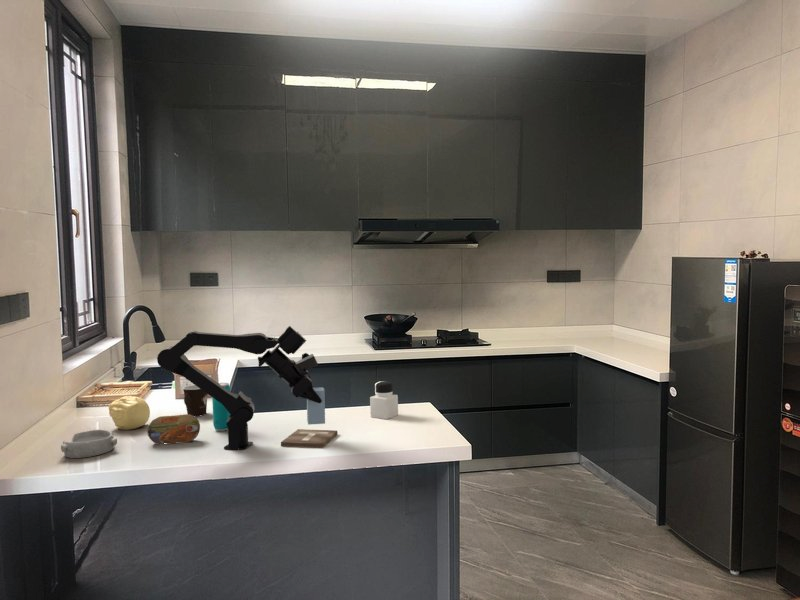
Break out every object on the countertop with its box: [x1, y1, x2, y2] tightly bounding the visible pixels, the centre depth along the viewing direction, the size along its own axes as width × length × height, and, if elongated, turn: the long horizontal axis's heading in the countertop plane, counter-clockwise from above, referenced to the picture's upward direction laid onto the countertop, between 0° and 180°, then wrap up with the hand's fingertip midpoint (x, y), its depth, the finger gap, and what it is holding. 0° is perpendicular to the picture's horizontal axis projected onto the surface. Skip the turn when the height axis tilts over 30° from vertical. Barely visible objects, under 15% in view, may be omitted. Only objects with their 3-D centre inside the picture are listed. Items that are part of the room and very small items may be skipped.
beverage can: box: [211, 382, 231, 432], centre depth 201 cm, size 6×6×15 cm
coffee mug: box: [182, 384, 208, 417], centre depth 222 cm, size 12×9×10 cm
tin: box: [147, 413, 201, 445], centre depth 188 cm, size 15×3×8 cm, turn 101°
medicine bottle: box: [369, 380, 399, 420], centre depth 214 cm, size 7×7×12 cm
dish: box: [60, 429, 118, 459], centre depth 181 cm, size 14×14×5 cm
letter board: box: [280, 428, 338, 449], centre depth 187 cm, size 14×13×1 cm
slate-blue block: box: [306, 386, 326, 425], centre depth 186 cm, size 5×5×10 cm
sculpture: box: [108, 395, 151, 431], centre depth 207 cm, size 11×12×11 cm
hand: (320, 400), depth 186 cm, fingers closed on slate-blue block, 5 cm apart
